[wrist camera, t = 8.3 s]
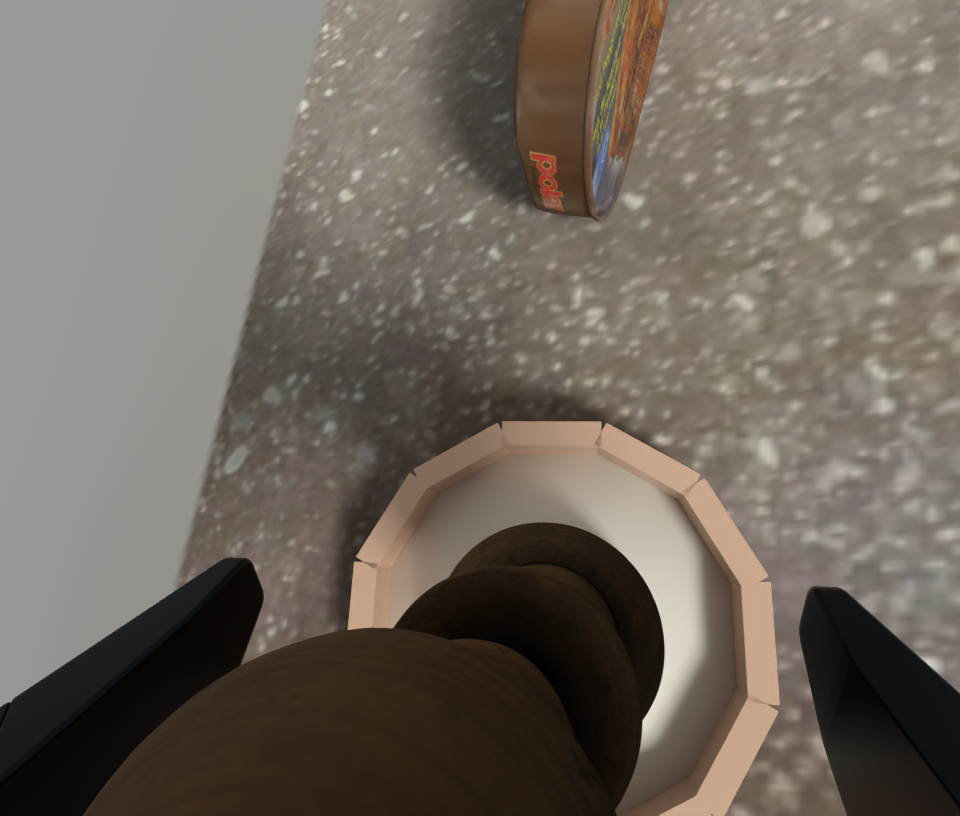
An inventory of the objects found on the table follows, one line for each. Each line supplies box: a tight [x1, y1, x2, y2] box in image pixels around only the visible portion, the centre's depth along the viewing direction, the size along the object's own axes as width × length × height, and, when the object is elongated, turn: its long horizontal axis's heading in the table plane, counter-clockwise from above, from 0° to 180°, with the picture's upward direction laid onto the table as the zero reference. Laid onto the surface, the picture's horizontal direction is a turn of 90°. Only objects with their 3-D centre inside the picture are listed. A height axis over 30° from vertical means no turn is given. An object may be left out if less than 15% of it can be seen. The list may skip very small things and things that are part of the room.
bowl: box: [348, 421, 780, 816], centre depth 19 cm, size 13×13×2 cm
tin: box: [514, 0, 668, 221], centre depth 21 cm, size 15×3×8 cm, turn 164°
